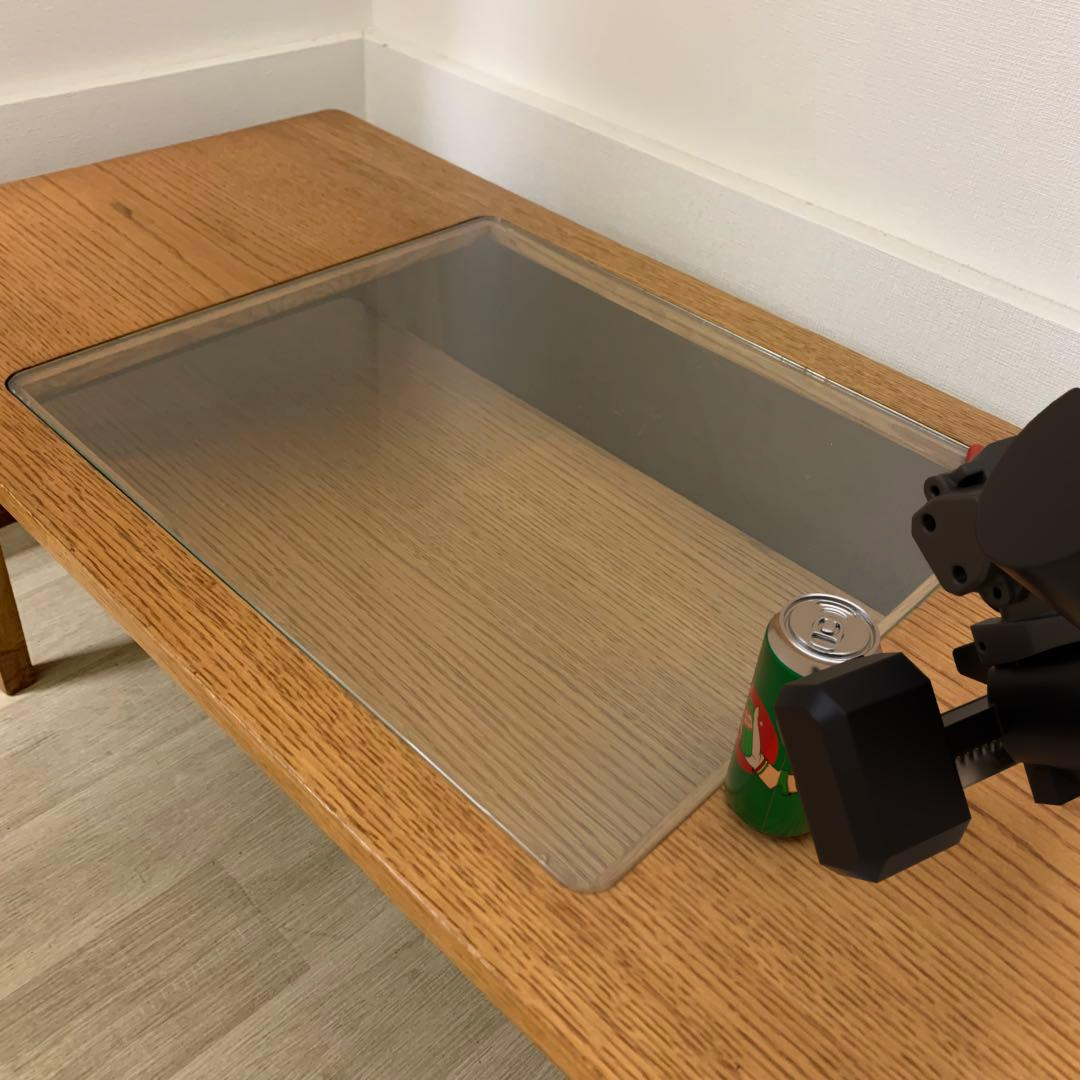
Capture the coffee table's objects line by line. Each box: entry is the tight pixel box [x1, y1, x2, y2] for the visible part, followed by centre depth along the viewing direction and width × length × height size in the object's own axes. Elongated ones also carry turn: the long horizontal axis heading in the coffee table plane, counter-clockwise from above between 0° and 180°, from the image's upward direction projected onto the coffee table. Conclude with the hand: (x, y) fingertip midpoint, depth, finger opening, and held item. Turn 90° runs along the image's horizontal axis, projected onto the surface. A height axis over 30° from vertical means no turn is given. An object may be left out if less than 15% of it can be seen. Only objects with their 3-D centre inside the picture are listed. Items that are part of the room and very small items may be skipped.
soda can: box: [723, 592, 884, 838], centre depth 52 cm, size 5×5×12 cm
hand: (873, 694), depth 46 cm, fingers open, 9 cm apart
